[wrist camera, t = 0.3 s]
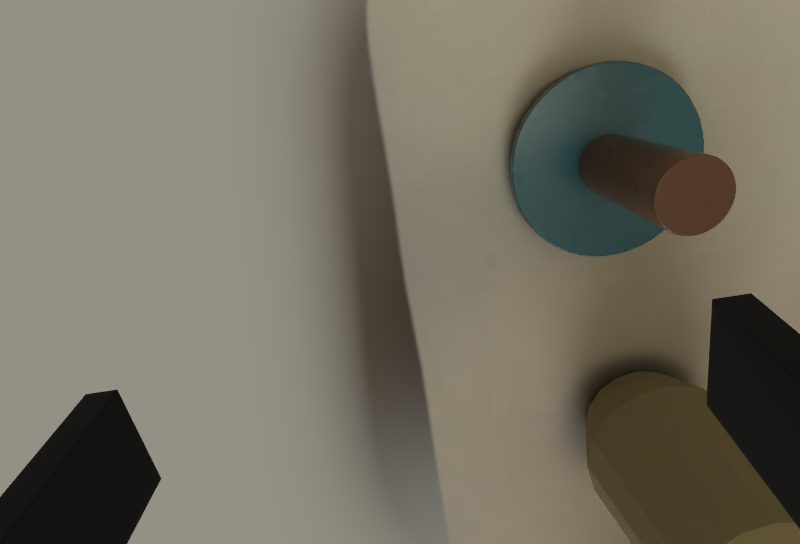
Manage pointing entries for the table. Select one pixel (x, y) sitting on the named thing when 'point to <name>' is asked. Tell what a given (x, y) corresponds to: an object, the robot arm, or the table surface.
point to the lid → (616, 162)
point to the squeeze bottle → (676, 468)
